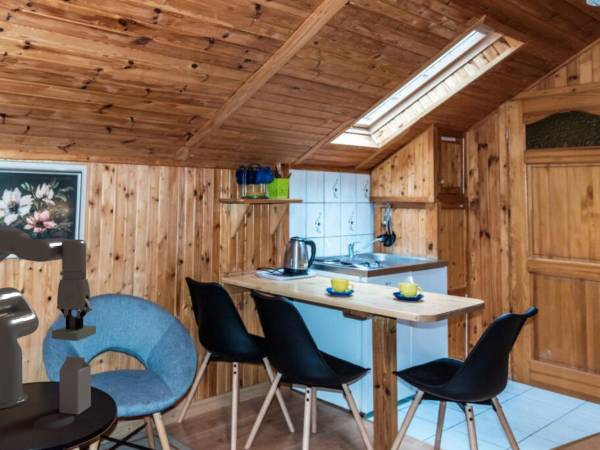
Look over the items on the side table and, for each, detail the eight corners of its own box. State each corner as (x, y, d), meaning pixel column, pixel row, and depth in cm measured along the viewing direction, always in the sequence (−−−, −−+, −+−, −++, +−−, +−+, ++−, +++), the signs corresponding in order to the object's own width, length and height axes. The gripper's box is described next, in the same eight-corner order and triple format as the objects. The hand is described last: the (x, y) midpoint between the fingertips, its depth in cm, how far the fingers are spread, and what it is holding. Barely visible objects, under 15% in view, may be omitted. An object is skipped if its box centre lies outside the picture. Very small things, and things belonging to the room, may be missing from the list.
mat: (24, 429, 154) (24, 427, 154) (51, 413, 166) (51, 411, 166) (57, 433, 151) (57, 431, 151) (82, 417, 163) (82, 415, 163)
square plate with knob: (52, 338, 163) (51, 319, 163) (71, 331, 173) (71, 313, 173) (77, 341, 161) (77, 321, 161) (96, 333, 171) (95, 315, 170)
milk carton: (77, 416, 164) (77, 360, 163) (59, 414, 165) (59, 359, 165) (90, 407, 171) (90, 354, 170) (73, 405, 172) (72, 353, 172)
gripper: (45, 275, 164) (46, 329, 165) (88, 278, 161) (88, 333, 161) (61, 272, 172) (61, 324, 172) (102, 275, 168) (102, 327, 169)
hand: (74, 327), depth 167 cm, fingers closed on square plate with knob, 3 cm apart
